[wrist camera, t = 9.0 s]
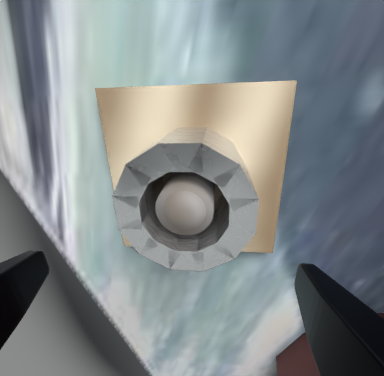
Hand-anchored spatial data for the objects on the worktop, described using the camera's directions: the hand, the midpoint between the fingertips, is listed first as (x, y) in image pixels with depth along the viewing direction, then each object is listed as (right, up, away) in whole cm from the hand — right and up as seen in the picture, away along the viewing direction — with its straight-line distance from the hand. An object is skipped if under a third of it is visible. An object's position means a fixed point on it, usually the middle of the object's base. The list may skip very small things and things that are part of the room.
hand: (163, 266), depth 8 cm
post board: (+1, +4, +9) cm, 9 cm away
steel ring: (+1, +3, +8) cm, 8 cm away
